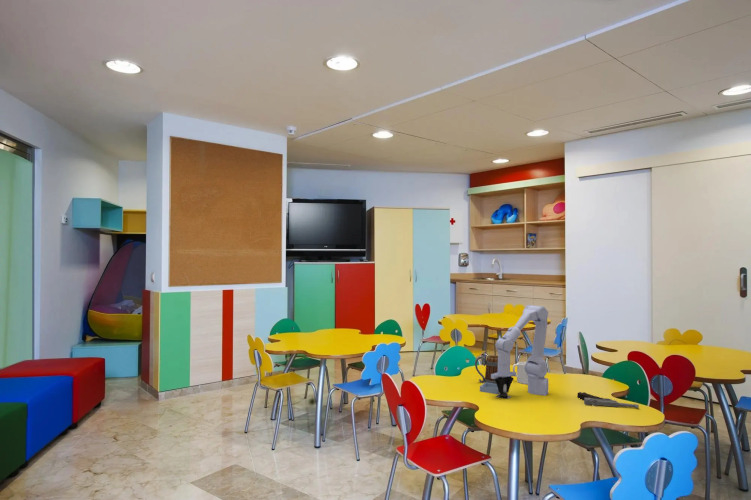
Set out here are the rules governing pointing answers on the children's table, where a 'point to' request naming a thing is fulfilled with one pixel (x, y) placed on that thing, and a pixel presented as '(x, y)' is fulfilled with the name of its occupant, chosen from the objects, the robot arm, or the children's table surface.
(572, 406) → the children's table surface
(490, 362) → the mug
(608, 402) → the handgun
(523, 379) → the mug
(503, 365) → the robot arm
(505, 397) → the grey metal square plate
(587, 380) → the children's table surface
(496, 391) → the bin
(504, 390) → the strut
